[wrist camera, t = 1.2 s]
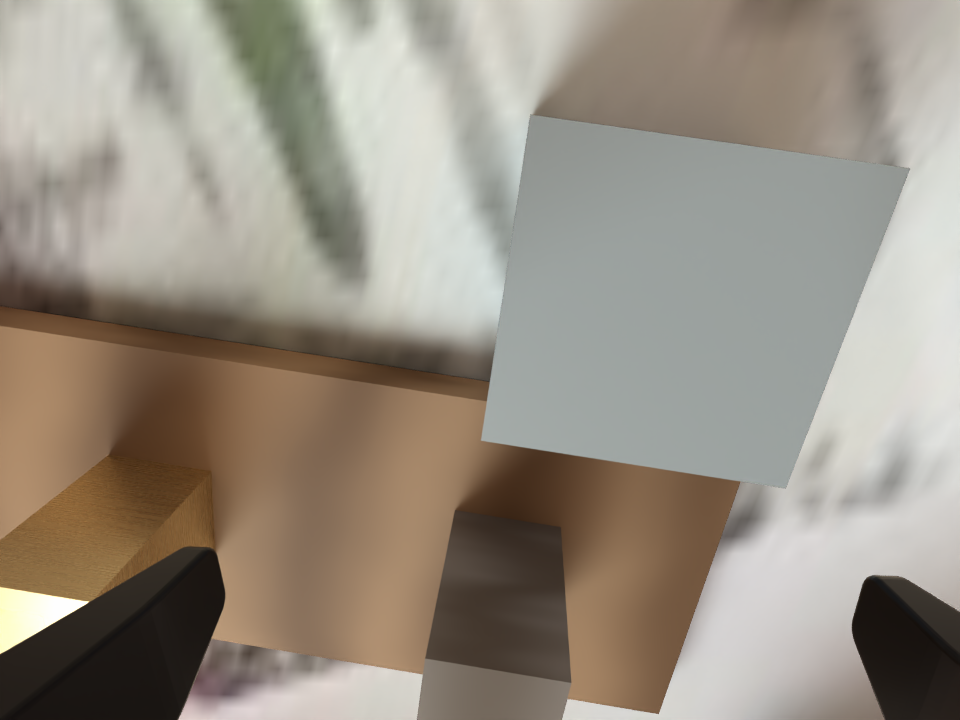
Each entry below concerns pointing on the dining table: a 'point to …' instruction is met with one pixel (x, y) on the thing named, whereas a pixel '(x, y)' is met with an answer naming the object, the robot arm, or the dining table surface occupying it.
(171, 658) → the robot arm
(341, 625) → the stand
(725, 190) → the matte gray-blue cube
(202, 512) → the tan wooden block
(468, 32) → the dining table surface
